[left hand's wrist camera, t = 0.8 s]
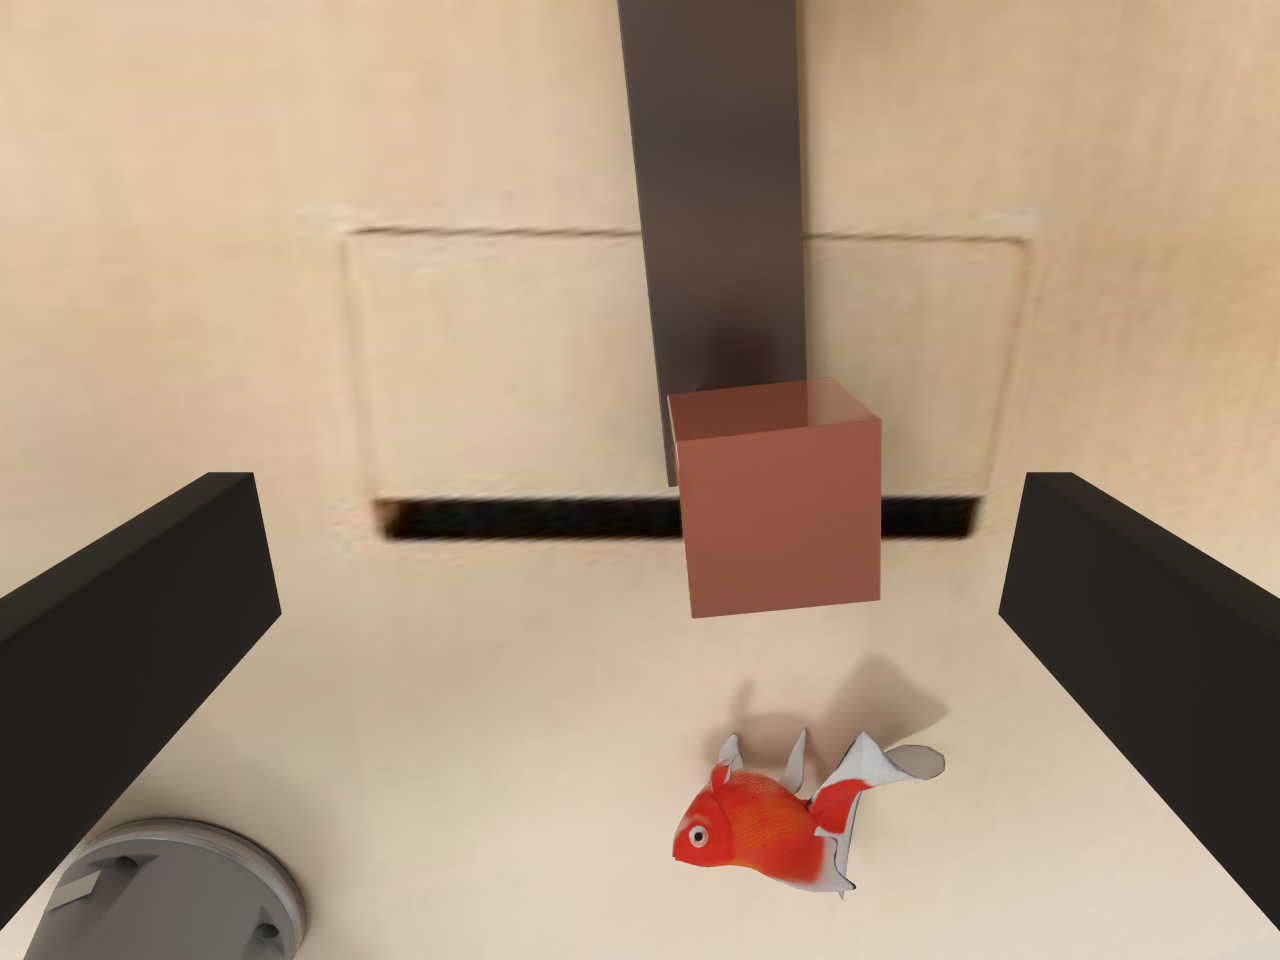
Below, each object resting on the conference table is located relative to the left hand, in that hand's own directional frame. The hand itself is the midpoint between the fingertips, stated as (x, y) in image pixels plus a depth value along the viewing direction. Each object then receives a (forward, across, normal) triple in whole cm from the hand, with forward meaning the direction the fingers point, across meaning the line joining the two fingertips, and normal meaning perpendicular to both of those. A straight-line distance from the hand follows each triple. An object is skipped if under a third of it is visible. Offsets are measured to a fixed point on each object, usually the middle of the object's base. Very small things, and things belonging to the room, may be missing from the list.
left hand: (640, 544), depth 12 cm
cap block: (+16, -5, +4) cm, 17 cm away
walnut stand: (+24, -3, -7) cm, 25 cm away
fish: (+24, -10, +25) cm, 36 cm away
